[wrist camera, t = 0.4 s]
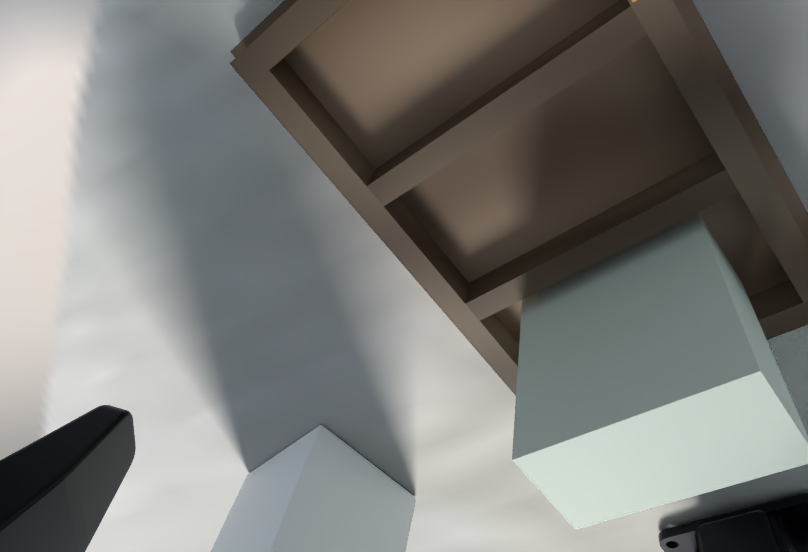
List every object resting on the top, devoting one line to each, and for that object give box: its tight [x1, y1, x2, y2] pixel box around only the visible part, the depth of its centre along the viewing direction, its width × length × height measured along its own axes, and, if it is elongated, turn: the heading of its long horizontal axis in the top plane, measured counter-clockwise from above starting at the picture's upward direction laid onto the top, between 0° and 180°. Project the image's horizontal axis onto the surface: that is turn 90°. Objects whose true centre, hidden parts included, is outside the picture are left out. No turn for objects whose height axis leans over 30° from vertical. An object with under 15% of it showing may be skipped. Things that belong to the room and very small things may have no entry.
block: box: [512, 213, 808, 530], centre depth 18 cm, size 3×6×7 cm, turn 129°
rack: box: [230, 0, 808, 395], centre depth 18 cm, size 16×11×4 cm, turn 39°
